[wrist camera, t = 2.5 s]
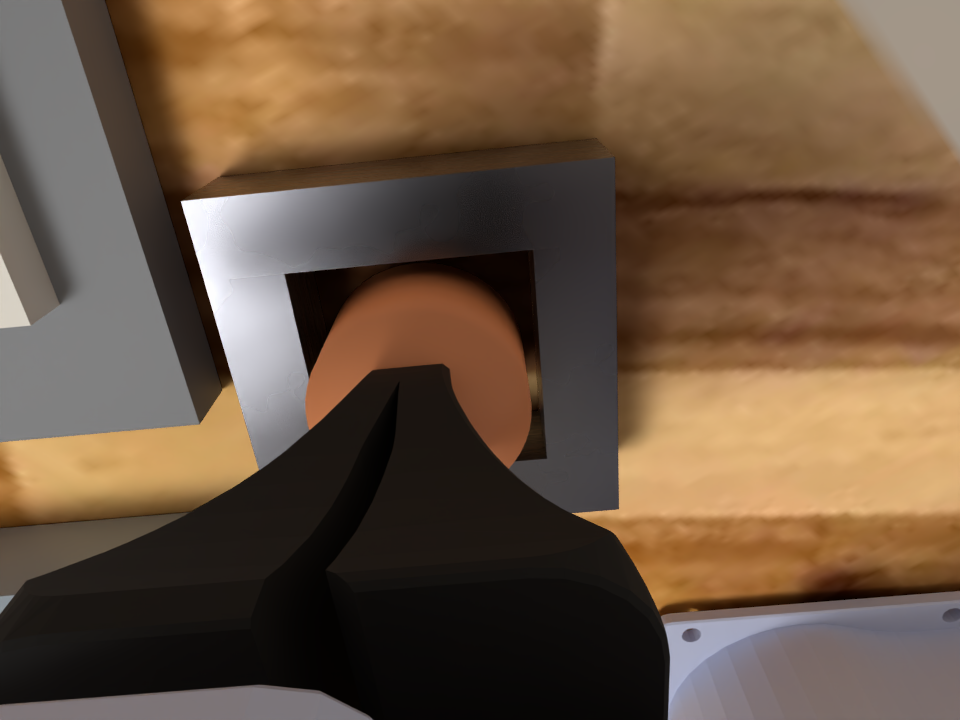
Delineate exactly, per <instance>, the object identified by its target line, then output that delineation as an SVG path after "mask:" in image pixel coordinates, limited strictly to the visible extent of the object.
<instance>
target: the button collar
mask: <svg viewBox="0 0 960 720" xmlns="http://www.w3.org/2000/svg"><path fill="white" fill-rule="evenodd" d="M181 203H182V207H183V210H184V214H185V217H186V221H187V224H188V227H189V231H190V234H191V238H192V241H193V245H194V248H195V251H196V255H197V258H198V262H199V265H200V269H201V272H202V275H203V279H204V282H205V286H206V289H207V293H208V296H209V299H210V303H211V306H212V310H213V313H214V317H215V320H216V323H217V327H218V330H219V334H220V337H221V341H222V344H223V347H224V351H225V354H226V358H227V361H228V365H229V368H230V371H231V375H232V378H233V382H234V385H235V389H236V392H237V396H238V399H239V402H240V406H241V409H242V413H243V416H244V420H245V423H246V426H247V430H248V433H249V437H250V440H251V444H252V447H253V450H254V454H255V457H256V461H257V464H258V468H259V470H260V469H262V468H263V467H265V466H266V465H267V464H269V463H270V462H271V461H273V460H274V459H275V458H277V457H278V456H279V455H281V454H282V453H283V452H285V451H286V450H287V449H288V448H289V447H290V446H292V445H293V444H294V443H295V442H296V441H297V440H299V439H300V438H301V437H302V436H303V435H304V434H306V433H307V432H308V431H309V427H308V424H307V418H306V412H305V397H306V390H307V385H308V381H309V378H310V375H311V372H312V370H313V368H314V366H315V363H316V361H317V359H318V357H319V354H320V352H321V350H322V348H323V346H324V343H325V341H326V339H327V337H328V336H327V331H326V326H325V322H324V317H323V312H322V308H321V303H320V298H319V294H318V289H317V284H316V280H315V275H314V271H319V270H329V269H339V268H350V267H360V266H370V265H380V264H391V263H401V262H411V261H422V260H432V259H442V258H453V257H463V256H473V255H484V254H494V253H504V252H515V251H525V250H528V259H529V273H530V288H531V302H532V316H533V331H534V345H535V360H536V374H537V388H538V403H539V410H537V411H531V424H530V430H529V433H528V436H527V439H526V442H525V444H524V446H523V448H522V451H521V453H520V454H519V456H518V457H517V459H516V460H515V462H514V463H513V464H512V465H511V467H510V468H509V470H510V471H512V472H513V473H514V474H515V475H516V476H517V477H518V478H519V479H520V480H521V481H523V482H524V483H525V484H526V485H528V486H529V487H530V488H532V489H533V490H534V491H536V492H537V493H538V494H540V495H541V496H542V497H544V498H545V499H547V500H549V501H550V502H552V503H554V504H555V505H557V506H559V507H560V508H562V509H564V510H566V511H567V512H569V513H579V512H591V511H603V510H615V509H619V485H618V393H617V300H616V208H615V157H614V156H613V155H612V154H611V153H610V152H609V151H608V150H607V149H606V148H605V147H604V146H603V145H602V143H601V142H600V141H599V140H598V139H597V138H595V139H585V140H576V141H566V142H556V143H546V144H537V145H527V146H517V147H507V148H497V149H488V150H478V151H468V152H458V153H449V154H439V155H429V156H419V157H410V158H400V159H390V160H380V161H370V162H361V163H351V164H341V165H331V166H322V167H312V168H302V169H292V170H282V171H273V172H263V173H253V174H243V175H234V176H224V177H218V178H216V179H214V180H213V181H211V182H210V183H208V184H207V185H205V186H204V187H202V188H201V189H199V190H197V191H196V192H194V193H193V194H191V195H190V196H188V197H187V198H185V199H183V200H182V201H181Z"/></svg>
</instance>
